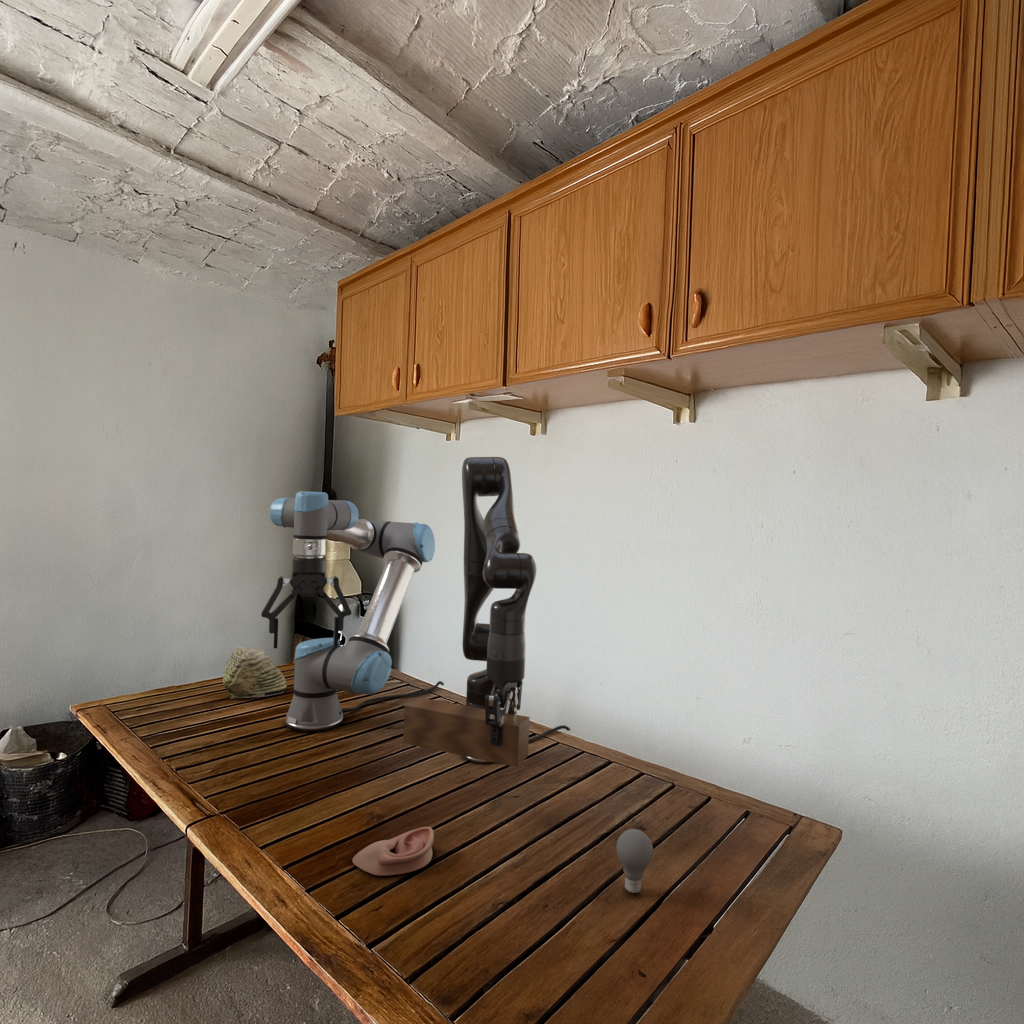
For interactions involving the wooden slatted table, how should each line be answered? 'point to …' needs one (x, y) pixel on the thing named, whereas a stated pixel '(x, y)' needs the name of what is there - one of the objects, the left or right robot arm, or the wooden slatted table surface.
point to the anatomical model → (397, 853)
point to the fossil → (252, 674)
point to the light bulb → (634, 857)
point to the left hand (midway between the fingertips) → (306, 645)
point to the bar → (464, 731)
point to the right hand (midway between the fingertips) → (502, 739)
